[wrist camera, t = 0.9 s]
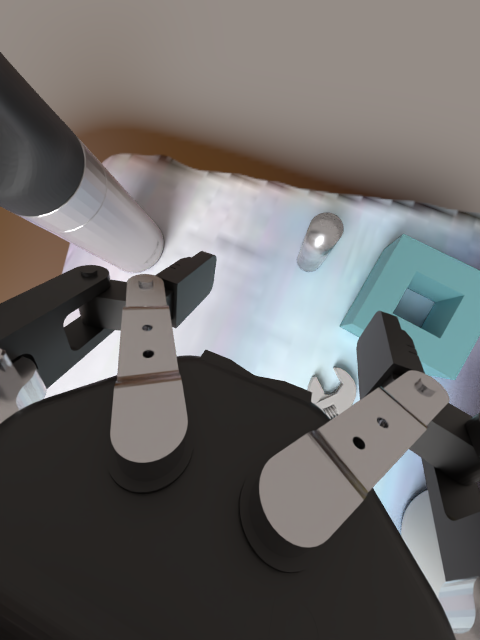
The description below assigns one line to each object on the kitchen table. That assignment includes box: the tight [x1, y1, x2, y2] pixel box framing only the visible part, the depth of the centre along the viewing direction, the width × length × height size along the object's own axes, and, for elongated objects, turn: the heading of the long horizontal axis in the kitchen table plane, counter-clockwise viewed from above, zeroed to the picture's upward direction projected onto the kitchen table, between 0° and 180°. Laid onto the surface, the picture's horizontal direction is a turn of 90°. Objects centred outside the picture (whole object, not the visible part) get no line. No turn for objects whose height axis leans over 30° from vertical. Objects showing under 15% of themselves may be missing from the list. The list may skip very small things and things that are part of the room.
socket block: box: [340, 234, 480, 380], centre depth 32 cm, size 13×13×5 cm
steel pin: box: [297, 213, 343, 272], centre depth 31 cm, size 4×4×10 cm
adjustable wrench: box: [308, 367, 356, 420], centre depth 33 cm, size 25×6×2 cm, turn 179°
